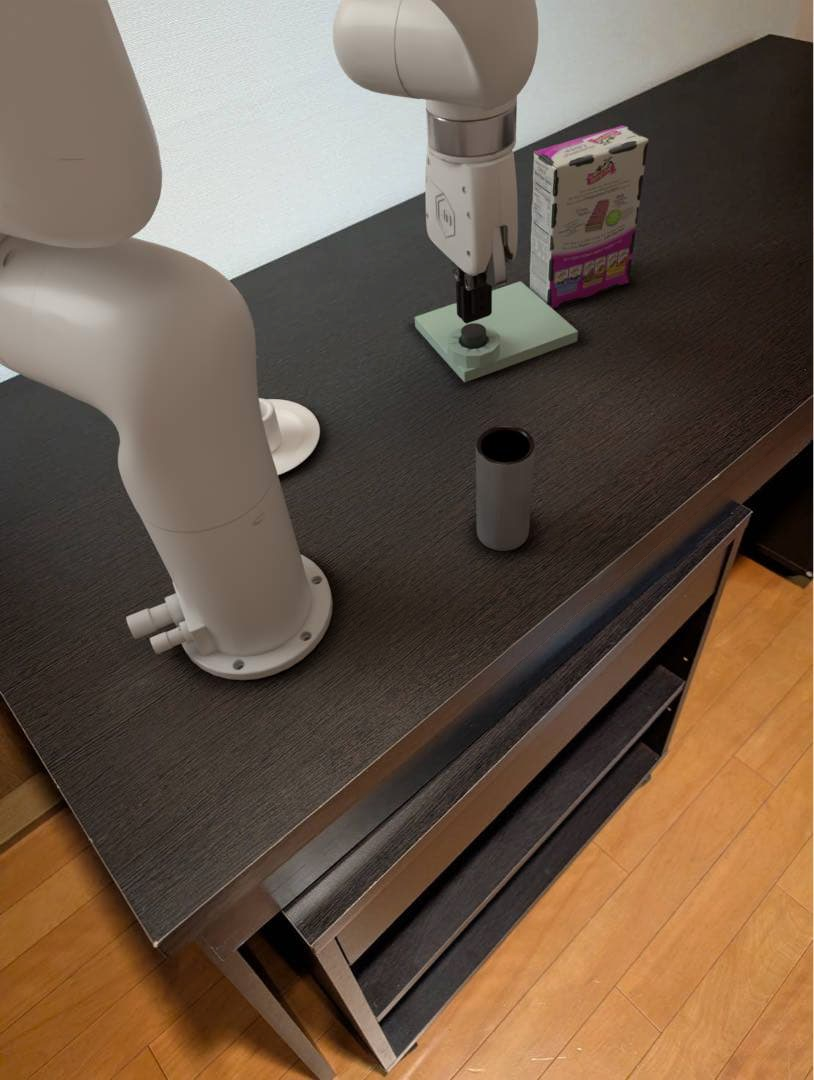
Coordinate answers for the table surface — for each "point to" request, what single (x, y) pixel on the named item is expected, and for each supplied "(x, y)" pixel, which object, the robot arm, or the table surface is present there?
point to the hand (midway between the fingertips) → (474, 315)
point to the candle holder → (289, 432)
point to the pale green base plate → (498, 332)
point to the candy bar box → (585, 214)
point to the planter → (504, 486)
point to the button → (473, 336)
